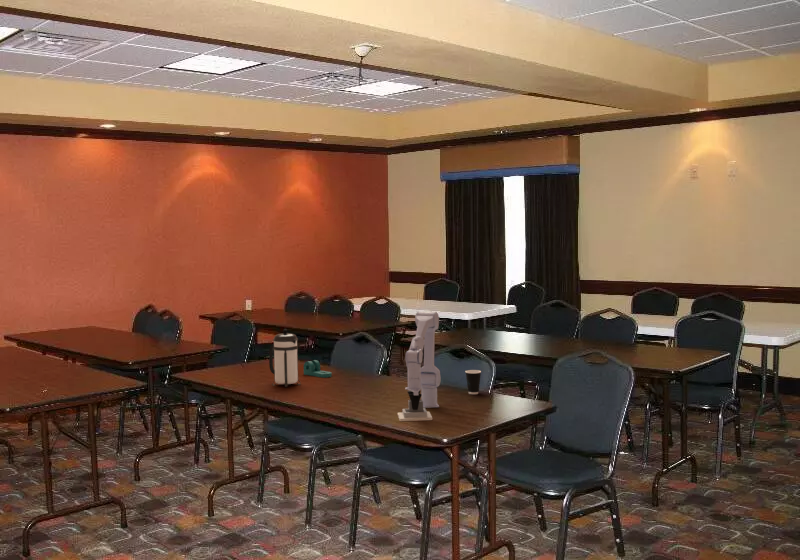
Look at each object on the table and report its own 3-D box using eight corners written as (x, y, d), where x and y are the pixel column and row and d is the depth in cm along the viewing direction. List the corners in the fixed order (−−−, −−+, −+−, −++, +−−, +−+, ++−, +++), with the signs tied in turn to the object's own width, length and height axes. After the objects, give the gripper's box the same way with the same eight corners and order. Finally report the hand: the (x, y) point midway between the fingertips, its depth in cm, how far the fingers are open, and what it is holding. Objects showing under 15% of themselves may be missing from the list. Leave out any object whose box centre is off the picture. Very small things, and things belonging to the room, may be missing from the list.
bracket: (303, 374, 461) (303, 361, 460) (312, 373, 466) (312, 359, 465) (325, 378, 448) (324, 364, 448) (334, 376, 453) (333, 362, 453)
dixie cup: (484, 392, 403) (484, 370, 402) (476, 395, 396) (476, 373, 395) (470, 391, 407) (469, 369, 406) (462, 393, 401) (462, 371, 400)
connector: (408, 411, 355) (408, 400, 354) (422, 410, 355) (422, 399, 355) (409, 413, 351) (409, 401, 350) (423, 412, 351) (423, 401, 351)
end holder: (397, 414, 358) (397, 408, 358) (429, 413, 360) (428, 406, 359) (399, 421, 347) (399, 414, 346) (432, 420, 348) (432, 413, 348)
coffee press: (302, 381, 439) (300, 326, 437) (299, 387, 423) (297, 330, 421) (269, 382, 438) (268, 327, 436) (265, 388, 422) (264, 331, 420)
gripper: (403, 374, 359) (403, 405, 360) (406, 381, 344) (407, 412, 345) (419, 374, 359) (419, 404, 360) (423, 380, 345) (423, 412, 346)
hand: (414, 408), depth 353 cm, fingers closed on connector, 4 cm apart
